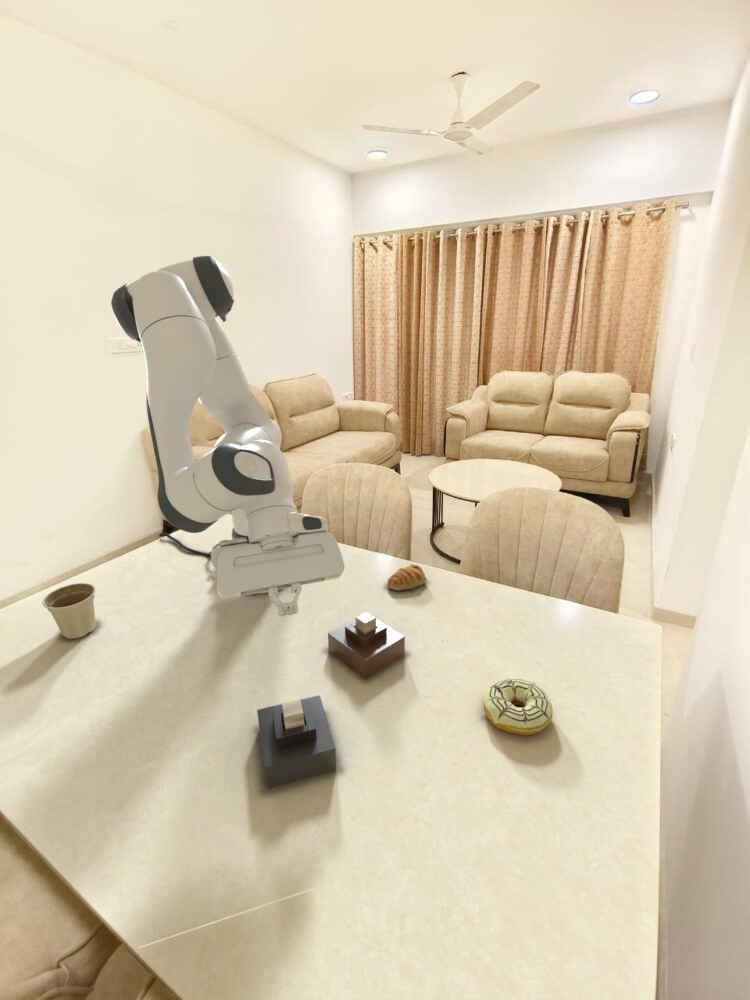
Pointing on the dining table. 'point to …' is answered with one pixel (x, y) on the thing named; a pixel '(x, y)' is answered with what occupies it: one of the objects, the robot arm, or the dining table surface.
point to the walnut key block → (366, 647)
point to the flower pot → (72, 609)
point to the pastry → (407, 578)
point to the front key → (293, 714)
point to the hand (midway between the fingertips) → (289, 614)
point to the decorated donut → (514, 719)
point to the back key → (365, 623)
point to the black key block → (296, 744)
